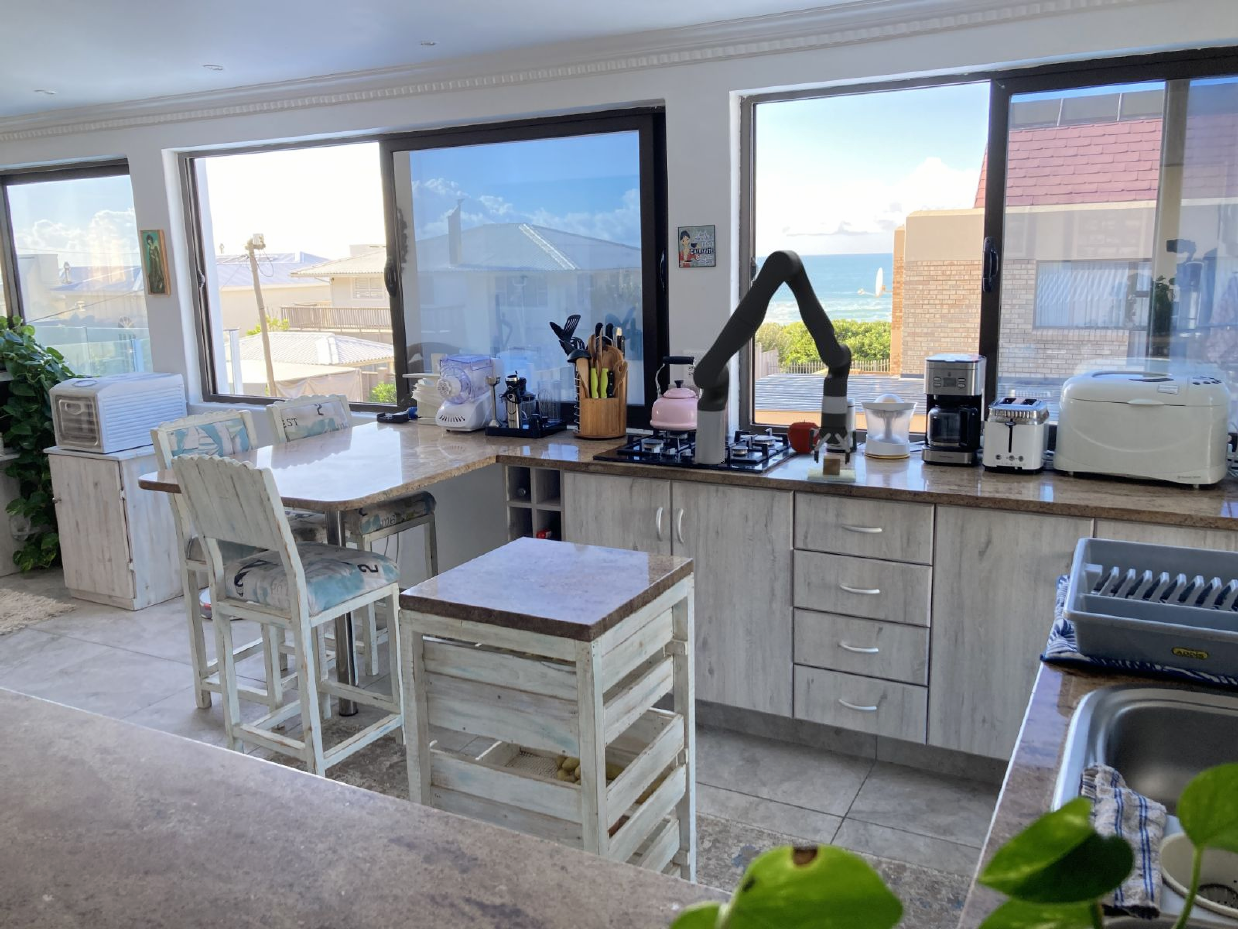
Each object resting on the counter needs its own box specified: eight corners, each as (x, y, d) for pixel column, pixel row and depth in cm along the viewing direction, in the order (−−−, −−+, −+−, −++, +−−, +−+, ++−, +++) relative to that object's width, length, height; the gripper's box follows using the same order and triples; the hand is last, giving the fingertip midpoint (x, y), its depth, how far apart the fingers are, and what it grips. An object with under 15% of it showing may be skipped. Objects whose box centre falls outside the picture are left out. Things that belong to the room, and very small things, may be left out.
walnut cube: (822, 474, 294) (823, 458, 293) (823, 471, 299) (823, 455, 298) (839, 475, 293) (840, 459, 292) (839, 472, 298) (840, 456, 297)
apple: (817, 450, 338) (818, 417, 335) (820, 456, 327) (822, 422, 325) (785, 450, 339) (786, 416, 336) (787, 456, 328) (788, 421, 326)
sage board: (807, 479, 292) (807, 476, 292) (808, 471, 304) (808, 468, 303) (855, 481, 289) (855, 478, 289) (854, 473, 301) (855, 470, 300)
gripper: (809, 411, 290) (807, 464, 294) (858, 413, 287) (856, 467, 291) (810, 407, 297) (808, 460, 301) (858, 409, 294) (855, 462, 298)
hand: (831, 463), depth 296 cm, fingers open, 8 cm apart
